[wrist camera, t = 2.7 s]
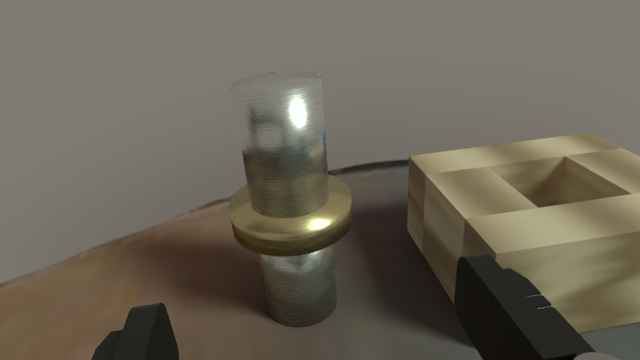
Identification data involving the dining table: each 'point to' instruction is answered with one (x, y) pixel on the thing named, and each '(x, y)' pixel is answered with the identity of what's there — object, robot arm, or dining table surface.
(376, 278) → the dining table surface
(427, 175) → the block
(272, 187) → the pin
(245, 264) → the dining table surface
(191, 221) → the dining table surface
